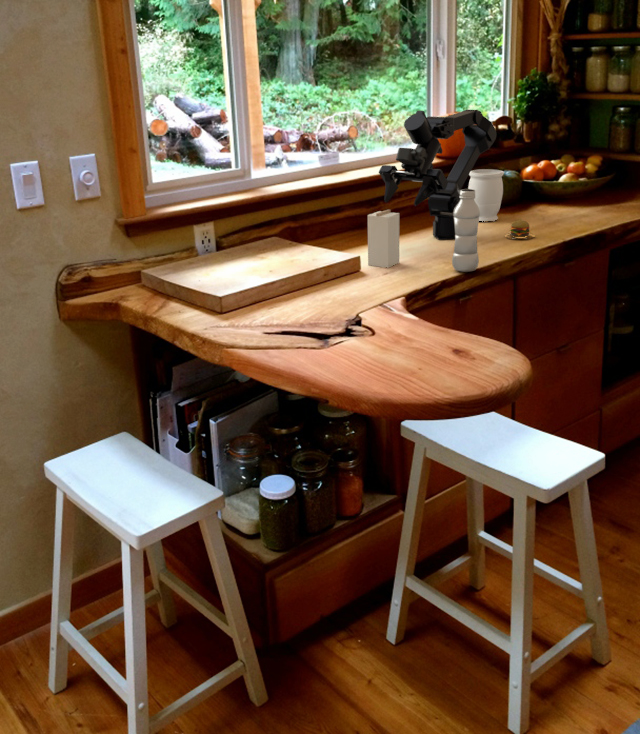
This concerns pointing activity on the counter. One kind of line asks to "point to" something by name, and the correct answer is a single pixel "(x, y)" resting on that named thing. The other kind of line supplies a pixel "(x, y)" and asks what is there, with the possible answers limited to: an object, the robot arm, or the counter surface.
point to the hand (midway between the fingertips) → (400, 203)
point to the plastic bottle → (466, 232)
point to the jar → (487, 192)
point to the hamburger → (519, 228)
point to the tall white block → (383, 239)
